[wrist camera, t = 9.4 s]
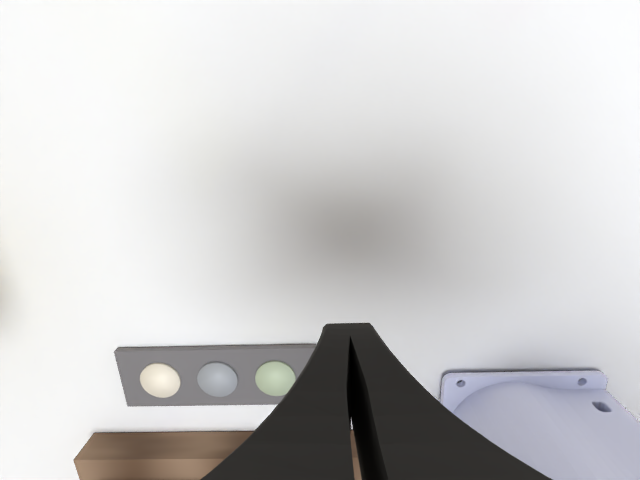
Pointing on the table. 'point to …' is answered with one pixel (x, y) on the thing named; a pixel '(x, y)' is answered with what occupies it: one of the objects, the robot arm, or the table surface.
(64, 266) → the table surface
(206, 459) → the keypad
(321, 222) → the table surface
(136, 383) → the card
